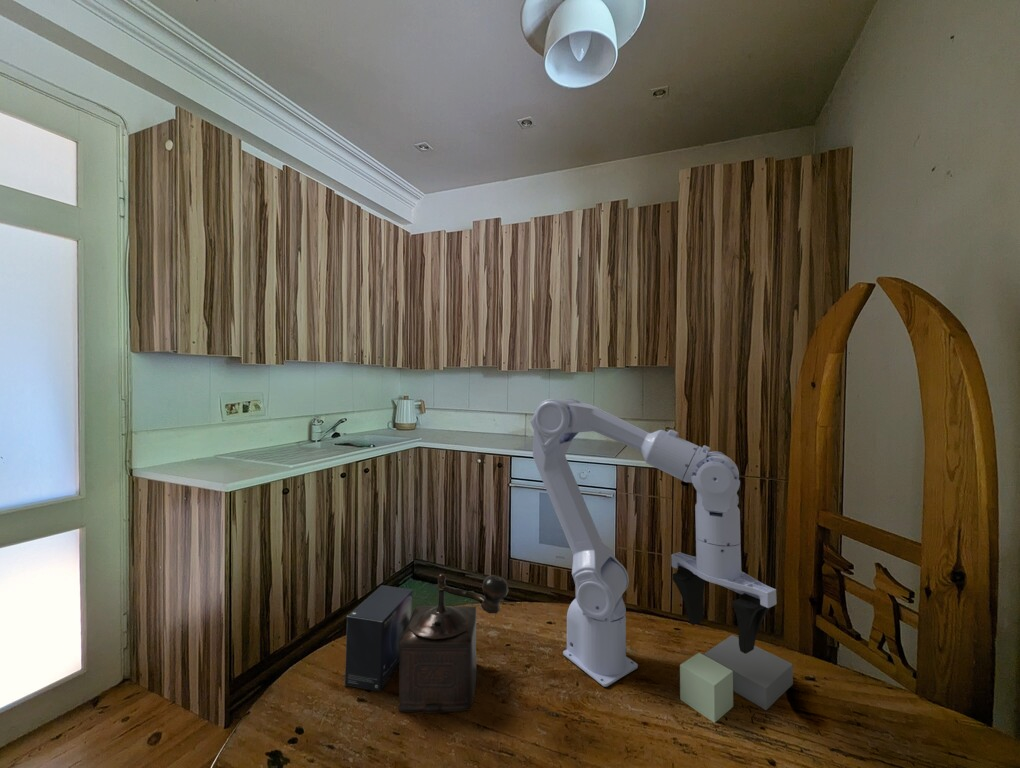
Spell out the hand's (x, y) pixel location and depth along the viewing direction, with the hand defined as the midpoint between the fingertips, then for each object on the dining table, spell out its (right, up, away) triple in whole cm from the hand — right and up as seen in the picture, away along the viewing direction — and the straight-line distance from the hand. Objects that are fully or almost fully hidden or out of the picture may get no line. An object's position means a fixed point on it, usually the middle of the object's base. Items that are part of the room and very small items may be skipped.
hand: (719, 635), depth 57 cm
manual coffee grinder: (-38, -10, +3) cm, 39 cm away
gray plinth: (+7, -10, +5) cm, 13 cm away
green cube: (-2, -10, 0) cm, 10 cm away
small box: (-51, -10, +8) cm, 52 cm away
